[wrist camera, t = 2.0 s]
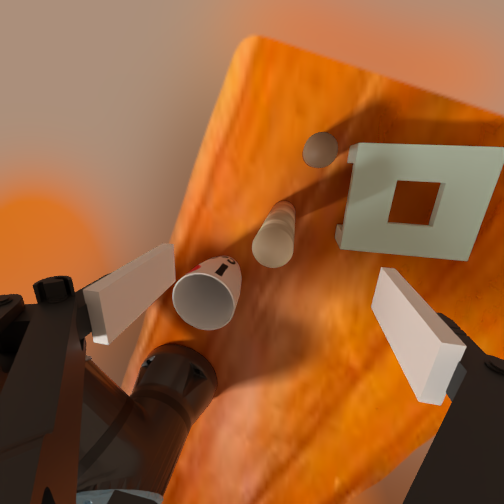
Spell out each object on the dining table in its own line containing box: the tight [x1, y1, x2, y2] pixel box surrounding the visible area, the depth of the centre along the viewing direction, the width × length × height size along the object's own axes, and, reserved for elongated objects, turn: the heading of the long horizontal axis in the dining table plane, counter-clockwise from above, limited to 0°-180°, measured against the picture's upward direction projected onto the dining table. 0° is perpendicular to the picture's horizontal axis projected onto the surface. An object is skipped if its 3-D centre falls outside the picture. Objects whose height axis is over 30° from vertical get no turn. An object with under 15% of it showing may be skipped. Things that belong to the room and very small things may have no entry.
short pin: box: [303, 132, 338, 168], centre depth 28 cm, size 3×3×7 cm
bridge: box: [335, 143, 504, 261], centre depth 29 cm, size 14×12×5 cm
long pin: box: [252, 201, 296, 268], centre depth 27 cm, size 3×3×16 cm
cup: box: [172, 256, 242, 330], centre depth 35 cm, size 8×8×10 cm
